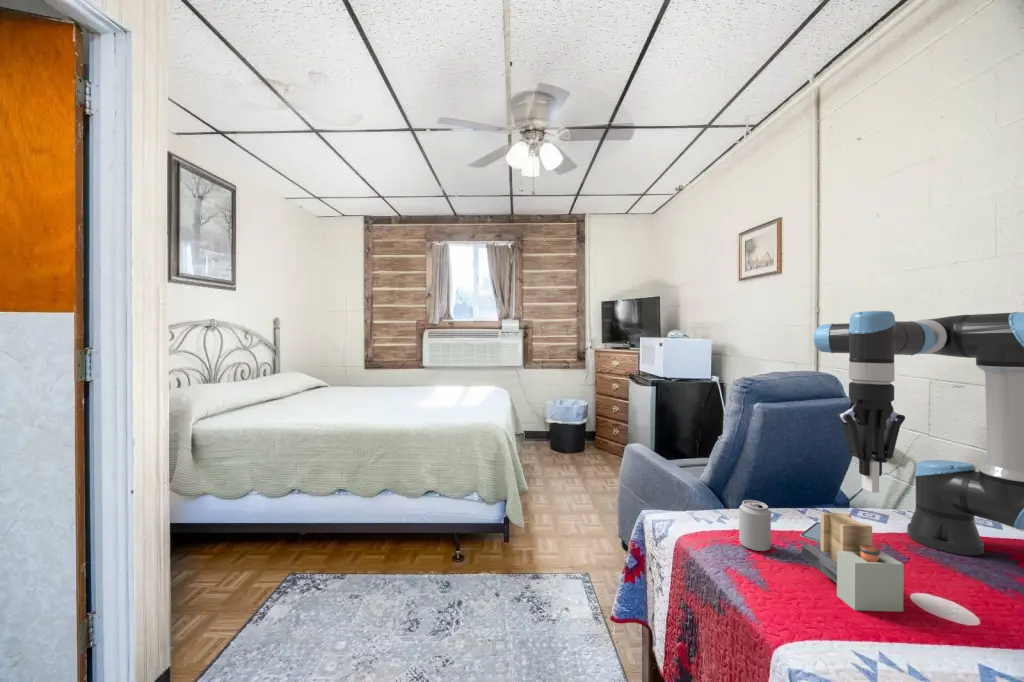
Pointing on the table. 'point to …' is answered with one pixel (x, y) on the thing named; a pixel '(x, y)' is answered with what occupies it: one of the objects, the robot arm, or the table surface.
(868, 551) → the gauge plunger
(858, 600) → the grey hollow block
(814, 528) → the smartphone
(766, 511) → the can
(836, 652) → the table surface
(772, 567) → the table surface
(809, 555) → the rail
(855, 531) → the carriage
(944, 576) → the table surface
